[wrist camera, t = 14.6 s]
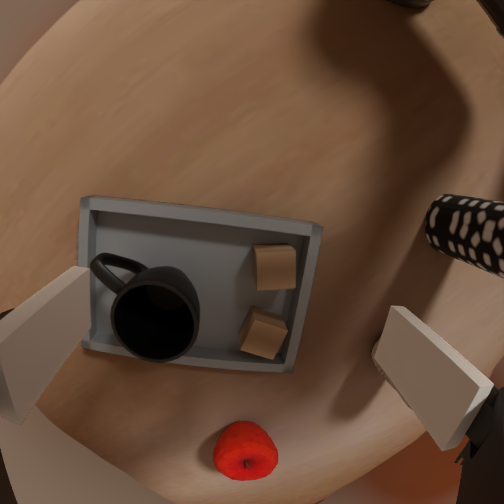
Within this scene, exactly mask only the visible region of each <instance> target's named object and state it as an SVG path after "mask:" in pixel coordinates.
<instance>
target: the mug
mask: <svg viewBox="0 0 504 504" xmlns="http://www.w3.org/2000/svg"><path fill="white" fill-rule="evenodd" d="M105 265H109V266H114V267H118V268H122V269H125V270H128V271H131V272H133V273H134V274H136V275H135V276H134V277H133V278H132V279H130V280H129V281H128V282H127V283H126V284H125V283H124V282H123V281H122V280H120V279H119V278H118V277H117V276H115V275H114V274H113V273H112V272H111V271H110V270H109V269H108V268H107V267H106V266H105ZM90 269H91V271H92V273H93V274H94V275H95V276H96V277H97V279H98V280H99V281H101V282H102V283H103V284H104V285H105V286H106V287H107V288H109V289H110V290H111V291H112V292H114V293H115V294H116V295H117V296H116V297H115V299H114V301H113V304H112V306H111V313H110V320H111V327H112V329H113V332H114V335H115V337H116V338H117V340H118V341H119V343H120V344H121V345H122V346H123V347H124V348H125V349H126V350H127V351H128V352H130V353H131V354H132V355H134V356H136V357H138V358H140V359H142V360H145V361H149V362H157V363H163V362H170V361H173V360H176V359H178V358H180V357H182V356H183V355H185V354H186V353H187V352H188V351H189V350H190V349H191V348H192V347H193V345H194V343H195V341H196V339H197V336H198V331H199V324H200V303H199V299H198V295H197V292H196V290H195V288H194V286H193V284H192V282H191V281H190V280H189V278H188V277H187V276H186V274H185V273H183V272H182V271H181V270H179V269H177V268H175V267H171V266H158V267H153V268H148V267H147V266H145V265H144V264H142V263H140V262H138V261H135V260H132V259H129V258H126V257H122V256H118V255H115V254H111V253H100V254H98V255H97V256H96V257H95V258H94V259H93V260H92V261H91V262H90Z"/></svg>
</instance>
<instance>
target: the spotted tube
mask: <svg viewBox="0 0 504 504" xmlns="http://www.w3.org/2000/svg"><path fill="white" fill-rule="evenodd" d="M425 230H426V236H427V239H428V241H429V243H430V245H431V246H432V247H433V248H434V249H435V250H437V251H438V252H441V253H443V254H446V255H448V256H451V257H453V258H456V259H458V260H461V261H463V262H466V263H468V264H471V265H473V266H475V267H478V268H480V269H483V270H485V271H487V272H490V273H492V274H494V275H497V276H499V277H501V278H504V202H499V201H493V200H487V199H480V198H474V197H467V196H460V195H452V194H444V195H441V196H439V197H438V198H437V199H435V200H434V202H433V203H432V204H431V206H430V208H429V210H428V213H427V216H426V221H425Z"/></svg>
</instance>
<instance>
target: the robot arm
mask: <svg viewBox="0 0 504 504" xmlns="http://www.w3.org/2000/svg"><path fill="white" fill-rule="evenodd" d="M389 1H391V2H393V3H396V4H398V5H401V6H405V7H410V8H420V7H424V6H426V5H428V4H429V3H431V2H432V1H433V0H389ZM476 1H477V2H478V3H479V5H480V6H481V7H482V8H483V10H484V11H485V13H486V14H487V15H488V17H489V18H490V20H491V21H492V22H493V24H494V25H495V27H496V30H497V31H498V33H499V34H500V35H501V36H502V37H503V38H504V0H476ZM90 328H91V313H90V268H84V267H78V266H73V267H71V268H70V269H69V270H67V271H66V272H64V273H63V274H61V275H60V276H59V277H57V278H56V279H54V280H53V281H52V282H50V283H49V284H47V285H46V286H45V287H43V288H42V289H40V290H39V291H38V292H36V293H35V294H34V295H32V296H31V297H30V298H28V299H27V300H26V301H24V302H23V303H22V304H20V305H19V306H18V307H16V308H13V309H10V310H8V311H5V312H2V313H1V314H0V414H1V417H2V418H4V419H7V420H9V421H11V422H14V423H16V424H18V425H22V423H23V422H24V420H25V419H26V417H27V416H28V414H29V413H30V411H31V409H32V408H33V407H34V405H35V404H36V402H37V401H38V399H39V398H40V396H41V395H42V394H43V392H44V391H45V389H46V388H47V386H48V385H49V384H50V382H51V381H52V379H53V378H54V377H55V375H56V374H57V372H58V371H59V370H60V368H61V367H62V365H63V364H64V363H65V361H66V360H67V359H68V357H69V356H70V355H71V353H72V352H73V351H74V349H75V348H76V347H77V345H78V344H79V343H80V341H81V340H82V339H83V337H84V336H85V335H86V334H87V332H88V331H89V330H90ZM374 358H375V360H376V361H377V362H378V364H379V365H380V366H381V368H382V369H383V370H384V372H385V373H386V374H387V376H388V377H389V378H390V380H391V381H392V383H393V384H394V385H395V387H396V388H397V389H398V391H399V392H400V393H401V395H402V396H403V398H404V399H405V400H406V402H407V403H408V404H409V406H410V407H411V408H412V410H413V411H414V413H415V414H416V415H417V417H418V418H419V420H420V421H421V422H422V424H423V425H424V427H425V428H426V429H427V431H428V432H429V434H430V435H431V436H432V438H433V439H434V441H435V442H436V443H437V445H438V446H439V448H440V449H441V451H445V450H448V449H452V448H455V447H457V446H458V445H459V443H460V442H461V440H462V439H463V437H464V436H465V434H466V435H467V436H468V437H469V439H470V440H469V441H468V443H467V444H466V446H465V447H464V448H463V450H462V451H461V453H460V454H459V456H458V457H457V458H456V460H455V463H457V462H458V461H459V460H460V459H461V458H463V461H462V462H461V465H463V467H462V473H461V479H460V486H459V491H458V496H457V502H456V504H504V387H502V388H500V389H499V390H498V389H497V388H496V387H495V386H494V384H493V383H492V382H491V381H490V380H489V379H488V378H487V377H486V376H484V375H483V374H482V373H481V372H480V371H479V370H478V369H477V368H476V367H474V366H473V365H472V364H471V363H470V362H469V361H468V360H467V359H465V358H464V357H463V356H462V355H461V354H460V353H459V352H457V351H456V350H455V349H454V348H453V347H452V346H451V345H449V344H448V343H447V342H446V341H445V340H444V339H442V338H441V337H440V336H439V335H438V334H437V333H435V332H434V331H433V330H432V329H431V328H429V327H428V326H427V325H426V324H425V323H424V322H422V321H421V320H420V319H419V318H418V317H416V316H415V315H414V314H413V313H412V312H410V311H409V310H408V309H407V308H405V307H404V306H392V305H391V307H390V310H389V314H388V317H387V320H386V323H385V326H384V329H383V332H382V335H381V338H380V341H379V344H378V347H377V350H376V353H375V356H374ZM0 504H18V503H17V501H16V498H15V496H14V492H13V490H12V487H11V484H10V481H9V478H8V475H7V471H6V468H5V464H4V461H3V457H2V453H1V449H0Z"/></svg>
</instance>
